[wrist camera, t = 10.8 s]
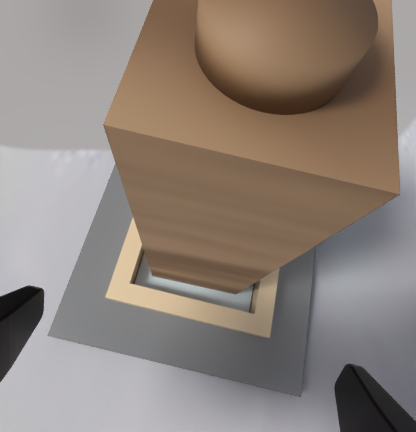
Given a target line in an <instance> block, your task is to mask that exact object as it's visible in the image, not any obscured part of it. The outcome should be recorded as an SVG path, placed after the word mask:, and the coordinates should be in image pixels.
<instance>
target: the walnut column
mask: <svg viewBox="0 0 416 432" xmlns="http://www.w3.org/2000/svg"><path fill="white" fill-rule="evenodd" d="M392 22H393V21H392V1H391V0H153V2H152V5H151V7H150V10H149V12H148V15H147V17H146V20H145V22H144V25H143V27H142V30H141V33H140V35H139V37H138V40H137V42H136V45H135V47H134V50H133V52H132V55H131V57H130V60H129V62H128V65H127V67H126V70H125V72H124V75H123V77H122V80H121V82H120V85H119V87H118V89H117V92H116V94H115V97H114V99H113V102H112V105H111V107H110V109H109V112H108V114H107V117H106V119H105V122H104V124H103V125H104V128H105V131H106V135H107V138H108V141H109V144H110V147H111V150H112V153H113V156H114V159H115V162H116V166H117V169H118V172H119V175H120V178H121V181H122V184H123V187H124V190H125V193H126V196H127V199H128V203H129V206H130V209H131V212H132V215H133V218H134V221H135V224H136V227H137V230H138V233H139V237H140V240H141V243H142V246H143V249H144V252H145V255H146V258H147V261H148V264H149V267H150V271H151V274H152V276H154V277H158V278H163V279H167V280H172V281H176V282H181V283H185V284H190V285H195V286H199V287H204V288H208V289H213V290H217V291H222V292H226V293H231V294H237V293H239V292H241V291H242V290H244V289H245V288H247V287H249V286H250V285H252V284H254V283H255V282H257V281H259V280H260V279H262V278H264V277H265V276H267V275H268V274H270V273H272V272H273V271H275V270H277V269H278V268H280V267H282V266H283V265H285V264H287V263H288V262H290V261H291V260H293V259H295V258H296V257H298V256H300V255H301V254H303V253H305V252H306V251H308V250H310V249H311V248H313V247H314V246H316V245H318V244H319V243H321V242H323V241H324V240H326V239H328V238H329V237H331V236H333V235H334V234H336V233H337V232H339V231H341V230H342V229H344V228H346V227H347V226H349V225H351V224H352V223H354V222H356V221H357V220H359V219H360V218H362V217H364V216H365V215H367V214H369V213H370V212H372V211H374V210H375V209H377V208H379V207H380V206H382V205H384V204H385V203H387V202H388V201H390V200H392V199H393V198H395V197H397V196H398V195H400V179H399V157H398V134H397V112H396V88H395V66H394V43H393V23H392Z"/></svg>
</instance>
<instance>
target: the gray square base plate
mask: <svg viewBox="0 0 416 432" xmlns="http://www.w3.org/2000/svg"><path fill="white" fill-rule="evenodd" d="M314 257H315V246H314V247H313V248H311V249H310V250H308V251H306V252H305V253H303V254H301V255H300V256H298V257H296V258H295V259H293V260H291V261H290V262H288V263H287V264H285V265H283V266H282V267H280V268H278V269H277V270H275V271H273V272H272V273H270V274H268V275H267V276H265V277H264V278H262V279H260V280H259V281H257V282H255V283H254V284H252V285H250V286H249V287H247V288H245V289H244V290H242V291H241V292H239V293H237V294H231V293H226V292H222V291H217V290H213V289H208V288H204V287H199V286H195V285H190V284H185V283H181V282H176V281H172V280H167V279H163V278H158V277H154V276H152V274H151V271H150V267H149V264H148V261H147V258H146V255H145V252H144V249H143V246H142V243H141V240H140V237H139V233H138V230H137V227H136V224H135V221H134V218H133V215H132V212H131V209H130V206H129V203H128V199H127V196H126V193H125V190H124V187H123V184H122V181H121V178H120V175H119V172H118V169H117V166H116V164H115V166H114V169H113V171H112V174H111V176H110V179H109V181H108V184H107V187H106V189H105V192H104V194H103V197H102V199H101V202H100V204H99V207H98V209H97V212H96V214H95V217H94V219H93V222H92V224H91V227H90V229H89V232H88V235H87V237H86V240H85V242H84V245H83V247H82V250H81V252H80V255H79V257H78V260H77V262H76V265H75V267H74V270H73V272H72V275H71V277H70V280H69V283H68V285H67V288H66V290H65V293H64V295H63V298H62V300H61V303H60V305H59V308H58V310H57V313H56V315H55V318H54V320H53V323H52V325H51V328H50V331H49V333H48V336H51V337H55V338H59V339H63V340H67V341H71V342H76V343H80V344H84V345H88V346H92V347H96V348H100V349H105V350H109V351H113V352H117V353H121V354H125V355H130V356H134V357H138V358H142V359H146V360H150V361H154V362H159V363H163V364H167V365H171V366H175V367H179V368H183V369H188V370H192V371H196V372H200V373H204V374H208V375H212V376H217V377H221V378H225V379H229V380H233V381H237V382H241V383H246V384H250V385H254V386H258V387H262V388H266V389H270V390H275V391H279V392H283V393H287V394H291V395H295V396H299V397H301V393H302V383H303V372H304V362H305V351H306V341H307V330H308V320H309V309H310V299H311V288H312V278H313V267H314Z"/></svg>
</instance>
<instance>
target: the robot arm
mask: <svg viewBox="0 0 416 432" xmlns="http://www.w3.org/2000/svg"><path fill="white" fill-rule="evenodd" d="M43 311H44V290H43V289H42V288H39V287H35V286H30V285H29V286H25V287H23V288H20V289H18V290H15V291H13V292H10V293H8V294H5V295H3V296H0V382H1V381H2V379H3V378H4V377H5V375H6V374H7V373H8V371H9V370H10V368H11V367H12V365H13V364H14V362H15V361H16V359H17V357H18V356H19V354H20V352H21V351H22V349H23V347H24V346H25V344H26V342H27V341H28V339H29V338H30V336H31V334H32V333H33V331H34V329H35V328H36V326H37V324H38V323H39V321H40V319H41V317H42V315H43ZM335 397H336V404H337V411H338V418H339V425H340V432H416V421H415V420H414V419H413V418H412V417H411V416H410V415H409V414H408V413H407V412H406V411H405V410H404V409H403V408H402V407H401V406H400V405H399V404H398V403H397V402H396V401H395V400H394V399H393V398H392V397H391V396H390V395H389V394H388V393H387V392H386V391H385V390H384V389H383V388H382V386H381V385H380V384H379V383H378V382H377V381H376V380H375V379H374V378H373V377H372V376H371V375H370V374H369V373H368V372H367V371H366V370H365V369H364V368H363V367H361V366H357V365H353V364H347V365H345V367H344V369H343V370H342V372H341V374H340V376H339V377H338V379H337V381H336V383H335Z"/></svg>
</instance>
